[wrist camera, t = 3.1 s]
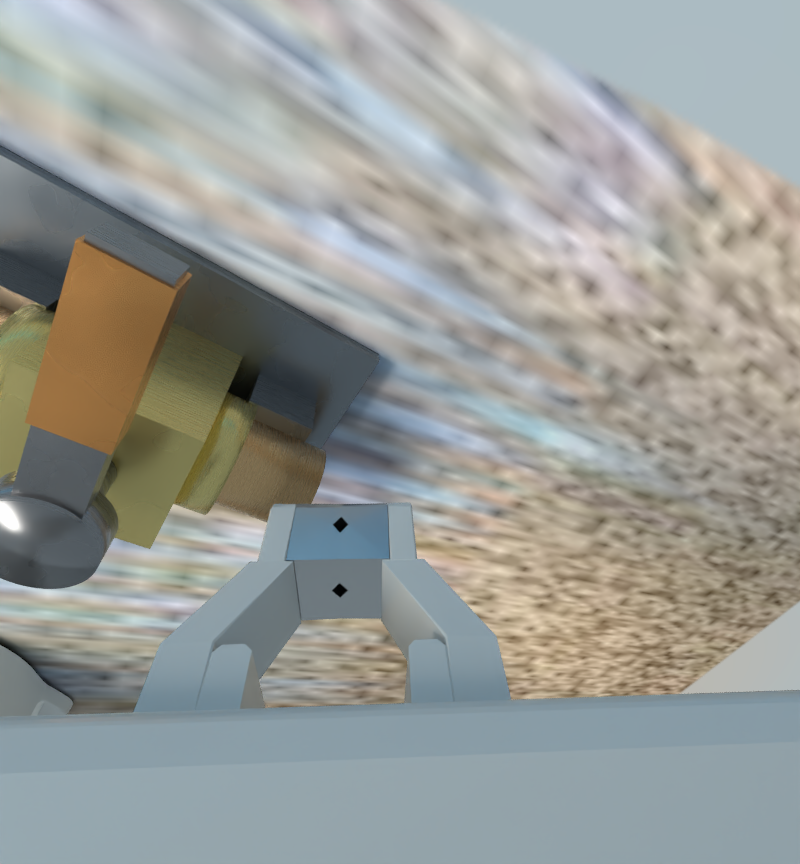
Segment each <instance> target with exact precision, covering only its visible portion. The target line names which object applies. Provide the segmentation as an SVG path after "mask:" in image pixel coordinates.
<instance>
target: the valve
mask: <svg viewBox="0 0 800 864" xmlns="http://www.w3.org/2000/svg"><path fill="white" fill-rule="evenodd" d="M107 221H108V222H110V223H112V224H113V225H115V226H117V227H119V228H121V229H123V230H124V231H126V232H128V233H130V234H132V235H134V236H136V237H137V238H139V239H141V240H143V241H145V242H147V243H149V244H150V245H152V246H154V247H156V248H158V249H160V250H162V251H163V252H165V253H167V254H169V255H171V256H173V257H175V258H176V259H178V260H180V261H182V262H184V263H186V264H187V265H189V266H190V268H189V271H188V272H189V273H191V274H193V275H192V278H191V280H190V283H189V285H188V287H187V290H186V292H185V295H184V297H183V300H182V302H181V304H180V307H179V309H178V312H177V314H176V317H175V319H174V321H173V324H172V326H171V329H170V331H169V334H168V336H167V338H166V341H165V343H164V346H163V348H162V351H161V353H160V355H159V358H158V360H157V363H156V365H155V368H154V370H153V372H152V375H151V377H150V380H149V382H148V385H147V387H146V389H145V392H144V394H143V397H142V399H141V402H140V404H139V406H138V409H137V411H136V414H135V416H134V419H133V421H132V423H131V426H130V428H129V430H128V432H127V433H126V434H125V436H124V437H123V439H122V440H121V442H120V443H119V445H118V446H117V448H116V451H115V453H114V455H113V458H112V460H111V463H110V465H109V468H108V470H107V473H106V475H105V478H104V480H103V483H102V485H101V488H100V490H99V491H100V492H101V493H102V494H103V495H105V496H106V498H107V499H108V500H109V501H110V502H111V504H112V505H113V507H114V509H115V511H116V513H117V516H118V523H119V524H118V530H117V533H116V535H115V538H118V539H121V540H124V541H127V542H130V543H133V544H136V545H139V546H142V547H146V548H149V549H150V548H151V546H152V544H153V542H154V540H155V538H156V536H157V534H158V532H159V530H160V528H161V526H162V524H163V522H164V520H165V519H166V517H167V515H168V513H169V511H170V509H171V507H172V505H173V504H176V505H178V506H181V507H184V508H187V509H189V510H192V511H195V512H198V513H201V514H203V515H206V514H207V513H208V512H209V511H210V509H211V508H212V506H213V505H214V503H216V504H218V505H221V506H224V507H226V508H229V509H232V510H235V511H237V512H240V513H243V514H245V515H248V516H251V517H253V518H256V519H259V520H261V521H264V522H267V521H268V517H269V513H270V509H271V508H272V506H273V504H311V503H312V501H313V498H314V496H315V494H316V492H317V489H318V487H319V484H320V481H321V478H322V475H323V472H324V468H325V462H326V453H325V451H324V450H322V449H321V448H322V446H323V445H324V443H325V442H326V440H327V439H328V437H329V436H330V434H331V433H332V431H333V430H334V428H335V427H336V425H337V424H338V422H339V421H340V419H341V418H342V416H343V415H344V413H345V412H346V410H347V409H348V407H349V406H350V404H351V403H352V401H353V400H354V398H355V397H356V395H357V394H358V392H359V391H360V389H361V388H362V386H363V385H364V383H365V382H366V380H367V379H368V377H369V376H370V374H371V373H372V371H373V370H374V368H375V367H376V365H377V364H378V362H379V354H377V353H375V352H374V351H372V350H370V349H368V348H366V347H364V346H363V345H361V344H359V343H357V342H355V341H354V340H352V339H350V338H348V337H346V336H345V335H343V334H341V333H339V332H337V331H335V330H334V329H332V328H330V327H328V326H326V325H325V324H323V323H321V322H319V321H317V320H316V319H314V318H312V317H310V316H308V315H306V314H305V313H303V312H301V311H299V310H297V309H296V308H294V307H292V306H290V305H288V304H286V303H285V302H283V301H281V300H279V299H277V298H276V297H274V296H272V295H270V294H268V293H267V292H265V291H263V290H261V289H259V288H257V287H256V286H254V285H252V284H250V283H248V282H247V281H245V280H243V279H241V278H239V277H237V276H236V275H234V274H232V273H230V272H228V271H227V270H225V269H223V268H221V267H219V266H218V265H216V264H214V263H212V262H210V261H208V260H207V259H205V258H203V257H201V256H199V255H198V254H196V253H194V252H192V251H190V250H188V249H187V248H185V247H183V246H181V245H179V244H178V243H176V242H174V241H172V240H170V239H169V238H167V237H165V236H163V235H161V234H159V233H158V232H156V231H154V230H152V229H150V228H149V227H147V226H145V225H143V224H141V223H139V222H138V221H136V220H134V219H132V218H130V217H129V216H127V215H125V214H123V213H121V212H120V211H118V210H116V209H114V208H112V207H110V206H109V205H107V204H105V203H103V202H101V201H100V200H98V199H96V198H94V197H92V196H91V195H89V194H87V193H85V192H83V191H81V190H80V189H78V188H76V187H74V186H72V185H71V184H69V183H67V182H65V181H63V180H61V179H60V178H58V177H56V176H54V175H52V174H51V173H49V172H47V171H45V170H43V169H42V168H40V167H38V166H36V165H34V164H32V163H31V162H29V161H27V160H25V159H23V158H22V157H20V156H18V155H16V154H14V153H12V152H11V151H9V150H7V149H5V148H3V147H2V146H0V478H1V477H3V476H4V475H6V474H8V473H10V472H13V471H17V470H18V467H19V464H20V460H21V457H22V454H23V450H24V447H25V443H26V440H27V436H28V433H29V429H30V426H31V425H30V424H27V423H25V420H26V416H27V413H28V409H29V405H30V402H31V398H32V395H33V391H34V388H35V384H36V380H37V377H38V373H39V370H40V366H41V362H42V359H43V355H44V352H45V348H46V345H47V341H48V337H49V334H50V330H51V327H52V323H53V319H54V316H55V312H56V309H57V305H58V302H59V298H60V294H61V291H62V287H63V284H64V280H65V277H66V273H67V269H68V266H69V262H70V259H71V255H72V251H73V248H74V244H75V241H76V239H77V238H79V237H81V236H83V235H85V234H86V231H89V230H91V229H93V228H95V227H97V226H99V225H101V224H103V223H105V222H107Z"/></svg>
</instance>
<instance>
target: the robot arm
mask: <svg viewBox="0 0 800 864" xmlns="http://www.w3.org/2000/svg"><path fill="white" fill-rule="evenodd" d="M337 618H381V621H382V622H383V624H384V625H385V627H386V628H387V630H388V631H389V633H390V635H391V636H392V638H393V639H394V641H395V642H396V644H397V646H398V647H399V649H400V650H401V652H402V653H403V655H404V656H405V658H406V660H407V674H406V687H405V701H404V703H399V704H370V705H340V706H310V707H280V708H265V705H264V700H263V696H262V692H261V688H260V683H259V680H260V678H261V677H262V675H263V674H264V673H265V671H266V670H267V669H268V667H269V666H270V665H271V663H272V662H273V660H274V659H275V658H276V656H277V655H278V654H279V652H280V651H281V650H282V648H283V647H284V646H285V644H286V643H287V641H288V640H289V639H290V637H291V636H292V635H293V633H294V632H295V631H296V629H297V628H298V626H299V625H300V624H301V620H317V619H337ZM72 706H73V702H72V700H71V699H70V698H69V697H67V696H66V695H64V694H63V693H61V692H59V691H58V690H56V689H54V688H52V687H50V686H49V685H47V684H46V683H45V682H44V681H43V680H42V679H41V678H40V677H39V676H38V674H37V673H36V672H35V671H34V670H33V668H32V667H31V666H30V665H29V664H28V663H26V662H25V661H24V660H23V659H22V658H20V657H19V656H17V655H16V654H15V653H13V652H11V651H10V650H8V649H7V648H5V647H3V646H1V645H0V864H800V690H787V691H786V690H785V691H756V692H730V693H729V692H728V693H727V692H725V693H699V694H698V693H697V694H696V693H695V694H665V695H635V696H605V697H575V698H545V699H515V700H511V697H510V692H509V688H508V684H507V680H506V675H505V671H504V667H503V662H502V658H501V654H500V650H499V645H498V641H497V637H496V635H495V634H494V633H493V632H492V631H491V630H490V629H489V628H488V627H487V626H486V625H485V624H484V622H483V621H482V620H481V619H480V618H479V617H478V616H477V615H476V614H475V613H474V612H473V611H472V610H471V609H470V608H469V607H468V605H467V604H466V603H465V602H464V601H463V600H462V599H461V598H460V597H459V596H458V595H457V594H456V593H455V592H454V591H453V590H452V588H451V587H450V586H449V585H448V584H447V583H446V582H445V581H444V580H443V579H442V578H441V577H440V576H439V575H438V574H437V572H436V571H435V570H434V569H433V568H432V567H431V566H430V565H429V564H428V563H427V562H426V561H425V560H424V559H417V553H416V543H415V533H414V524H413V514H412V505H411V504H410V503H388V505H387V503H379V504H273V506H272V508H271V509H270V513H269V517H268V521H267V526H266V530H265V534H264V538H263V542H262V546H261V550H260V554H259V558H258V562H250V563H249V564H248V565H246V566H245V567H244V568H243V569H242V570H241V571H240V572H239V573H238V574H237V575H235V576H234V577H233V578H232V579H231V580H230V581H229V582H228V583H227V584H226V585H224V586H223V587H222V588H221V589H220V590H219V591H218V592H217V593H216V594H215V595H213V596H212V597H211V598H210V599H209V600H208V601H207V602H206V603H205V604H204V605H202V606H201V607H200V608H199V609H198V610H197V611H196V612H195V613H194V614H193V615H191V616H190V617H189V618H188V619H187V620H186V621H185V622H184V623H183V624H182V625H180V626H179V627H178V628H177V629H176V630H175V631H174V632H173V633H172V634H171V635H169V636H168V637H167V638H166V639H165V640H164V641H163V642H162V643H161V644H160V646H159V648H158V651H157V653H156V656H155V658H154V661H153V663H152V666H151V669H150V671H149V674H148V676H147V679H146V681H145V684H144V686H143V689H142V691H141V694H140V696H139V699H138V702H137V704H136V707H135V709H134V712H129V713H99V714H69V715H67V714H68V712H69V711H70V709H71V707H72Z"/></svg>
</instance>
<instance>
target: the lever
mask: <svg viewBox="0 0 800 864" xmlns="http://www.w3.org/2000/svg"><path fill="white" fill-rule="evenodd" d="M189 268H190V266H189V265H187V264H186V263H184V262H182V261H180V260H178V259H176V258H175V257H173V256H171V255H169V254H167V253H165V252H163V251H162V250H160V249H158V248H156V247H154V246H152V245H150V244H149V243H147V242H145V241H143V240H141V239H139V238H137V237H136V236H134V235H132V234H130V233H128V232H126V231H124V230H123V229H121V228H119V227H117V226H115V225H113V224H112V223H110V222H108V221H107V222H105V223H103V224H101V225H99V226H97V227H95V228H93V229H91V230H89V231H86V234H85V235H83V236H81V237H79V238H77V239H76V241H75V244H74V248H73V251H72V255H71V259H70V262H69V266H68V269H67V273H66V277H65V280H64V284H63V287H62V291H61V294H60V298H59V302H58V305H57V309H56V312H55V316H54V319H53V323H52V327H51V330H50V334H49V337H48V341H47V345H46V348H45V352H44V355H43V359H42V362H41V366H40V370H39V373H38V377H37V380H36V384H35V388H34V391H33V395H32V398H31V402H30V405H29V409H28V413H27V416H26V420H25V423H27V424H30V425H31V426H30V429H29V433H28V436H27V440H26V443H25V447H24V450H23V454H22V457H21V460H20V464H19V467H18V470H17V471H13V472H10V473H8V474H6V475H4V476H3V477H1V478H0V578H2V579H4V580H7V581H9V582H13V583H16V584H19V585H23V586H28V587H34V588H43V589H56V588H65V587H70V586H74V585H77V584H79V583H82V582H84V581H85V580H87V579H88V578H90V577H91V576H92V575H93V574H94V573H95V571H96V569H97V568H98V566H99V564H100V562H101V560H102V559H103V557H104V555H105V553H106V551H107V550H108V548H109V546H110V544H111V542H112V541H113V539H114V537H115V535H116V533H117V530H118V524H119V523H118V516H117V513H116V511H115V509H114V507H113V505H112V504H111V502H110V501H109V500H108V499H107V498H106V496H105V495H103V494H102V493H101V492H100V491H99V490H100V488H101V485H102V483H103V480H104V478H105V475H106V473H107V470H108V468H109V465H110V463H111V460H112V458H113V455H114V453H115V451H116V448H117V446H118V445H119V443H120V442H121V440H122V439H123V437H124V436H125V434H126V433H127V432H128V430H129V428H130V426H131V423H132V421H133V419H134V416H135V414H136V411H137V409H138V406H139V404H140V402H141V399H142V397H143V394H144V392H145V389H146V387H147V385H148V382H149V380H150V377H151V375H152V372H153V370H154V368H155V365H156V363H157V360H158V358H159V355H160V353H161V351H162V348H163V346H164V343H165V341H166V338H167V336H168V334H169V331H170V329H171V326H172V324H173V321H174V319H175V317H176V314H177V312H178V309H179V307H180V304H181V302H182V300H183V297H184V295H185V292H186V290H187V287H188V285H189V283H190V280H191V278H192V275H193V274H191V273H189V272H188V271H189Z"/></svg>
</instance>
